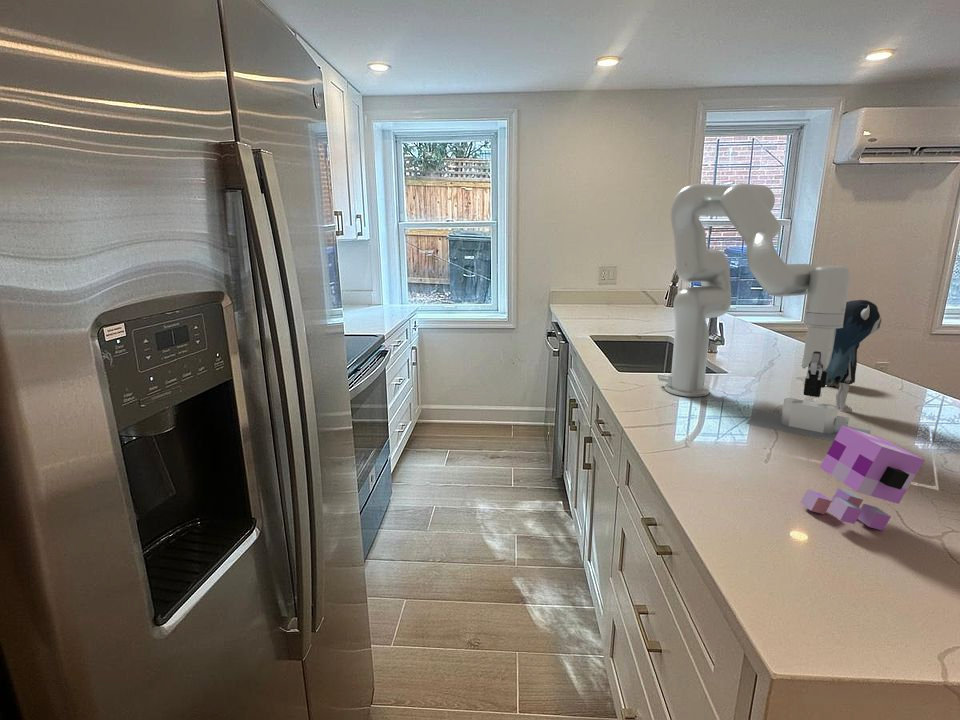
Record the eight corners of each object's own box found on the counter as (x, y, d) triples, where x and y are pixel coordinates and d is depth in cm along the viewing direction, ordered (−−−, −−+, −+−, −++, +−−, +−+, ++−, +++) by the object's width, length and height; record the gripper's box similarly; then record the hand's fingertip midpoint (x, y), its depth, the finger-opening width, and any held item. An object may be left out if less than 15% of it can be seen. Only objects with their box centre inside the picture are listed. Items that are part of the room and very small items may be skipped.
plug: (779, 424, 124) (782, 401, 123) (782, 419, 127) (785, 397, 126) (845, 437, 116) (849, 412, 115) (847, 432, 119) (851, 408, 118)
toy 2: (795, 498, 89) (835, 422, 85) (833, 508, 90) (875, 434, 86) (841, 534, 78) (889, 450, 75) (883, 546, 80) (933, 463, 76)
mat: (745, 425, 125) (746, 423, 125) (757, 412, 135) (757, 409, 135) (866, 450, 110) (866, 447, 110) (869, 432, 120) (869, 430, 120)
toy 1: (875, 421, 127) (898, 303, 120) (828, 419, 129) (847, 302, 122) (849, 404, 140) (867, 297, 133) (806, 402, 142) (822, 296, 135)
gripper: (810, 314, 125) (801, 381, 129) (798, 323, 112) (789, 397, 116) (847, 316, 120) (837, 385, 124) (839, 326, 107) (829, 402, 111)
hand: (814, 391), depth 120 cm, fingers open, 9 cm apart
